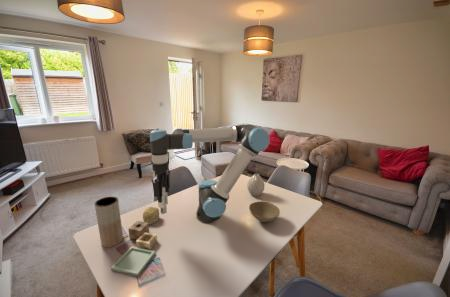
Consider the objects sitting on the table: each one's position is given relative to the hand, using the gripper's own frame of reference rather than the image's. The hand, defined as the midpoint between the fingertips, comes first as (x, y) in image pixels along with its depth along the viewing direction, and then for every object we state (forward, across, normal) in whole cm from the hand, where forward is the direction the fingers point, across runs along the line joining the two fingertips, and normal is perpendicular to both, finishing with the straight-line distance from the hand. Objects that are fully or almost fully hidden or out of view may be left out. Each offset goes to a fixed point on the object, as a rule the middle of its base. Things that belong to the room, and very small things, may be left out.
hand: (163, 205), depth 103 cm
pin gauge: (+4, 0, 0) cm, 4 cm away
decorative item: (+19, -11, -16) cm, 27 cm away
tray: (+19, +19, -5) cm, 27 cm away
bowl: (+19, -28, +50) cm, 60 cm away
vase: (+19, -60, +42) cm, 76 cm away
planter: (+19, +10, -25) cm, 33 cm away
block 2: (+19, +8, -6) cm, 21 cm away
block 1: (+19, +3, -14) cm, 23 cm away
